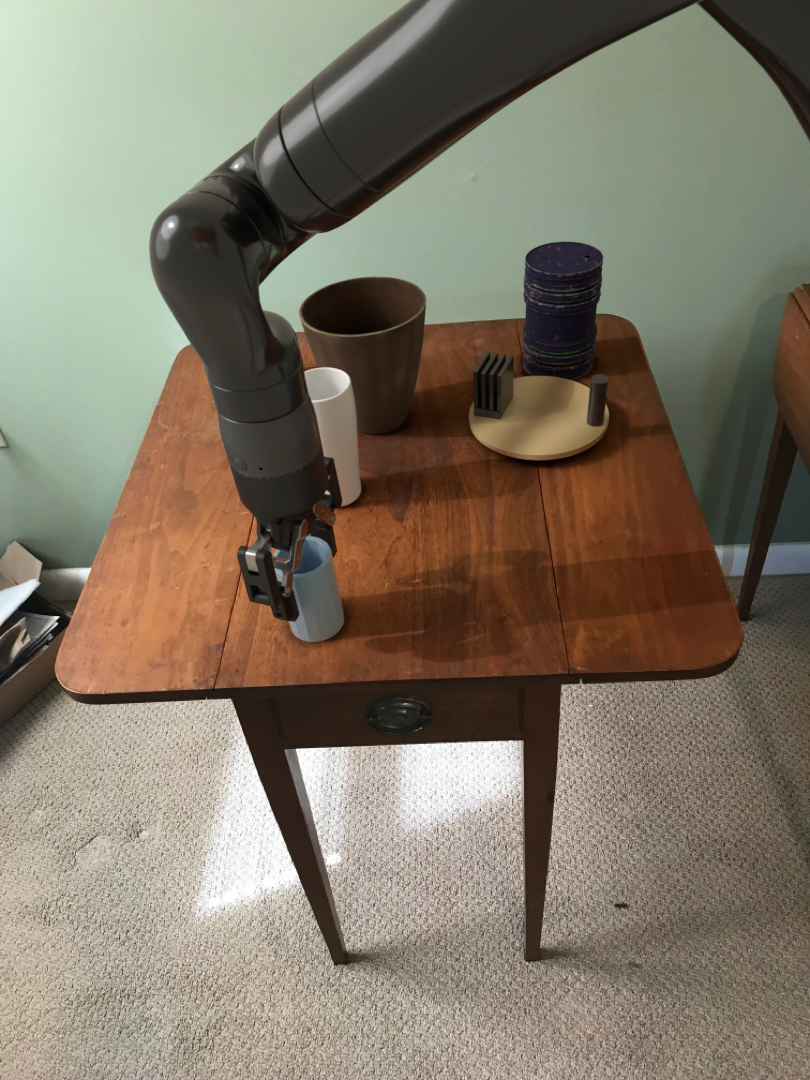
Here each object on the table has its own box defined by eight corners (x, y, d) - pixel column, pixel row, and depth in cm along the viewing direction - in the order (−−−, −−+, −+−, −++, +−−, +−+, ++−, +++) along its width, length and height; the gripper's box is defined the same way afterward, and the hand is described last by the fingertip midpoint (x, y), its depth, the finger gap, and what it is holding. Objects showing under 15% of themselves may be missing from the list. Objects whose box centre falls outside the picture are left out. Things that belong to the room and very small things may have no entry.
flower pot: (297, 431, 100) (272, 317, 89) (367, 376, 108) (352, 266, 97) (388, 466, 93) (374, 347, 82) (456, 405, 101) (451, 290, 90)
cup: (333, 593, 78) (318, 528, 72) (352, 629, 75) (339, 564, 68) (282, 612, 77) (264, 548, 71) (300, 650, 73) (282, 586, 67)
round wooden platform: (449, 445, 92) (446, 397, 88) (493, 373, 103) (493, 326, 99) (590, 472, 87) (595, 422, 82) (621, 391, 98) (627, 343, 93)
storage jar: (520, 381, 104) (523, 275, 94) (522, 344, 111) (524, 242, 101) (596, 381, 102) (607, 273, 92) (592, 344, 109) (602, 240, 99)
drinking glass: (373, 476, 92) (357, 366, 81) (362, 514, 87) (344, 402, 76) (318, 475, 93) (295, 366, 82) (304, 512, 88) (279, 401, 77)
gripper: (274, 510, 55) (311, 651, 66) (351, 401, 65) (372, 541, 76) (186, 493, 57) (236, 632, 69) (273, 390, 67) (304, 527, 78)
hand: (308, 584), depth 72 cm, fingers open, 8 cm apart
